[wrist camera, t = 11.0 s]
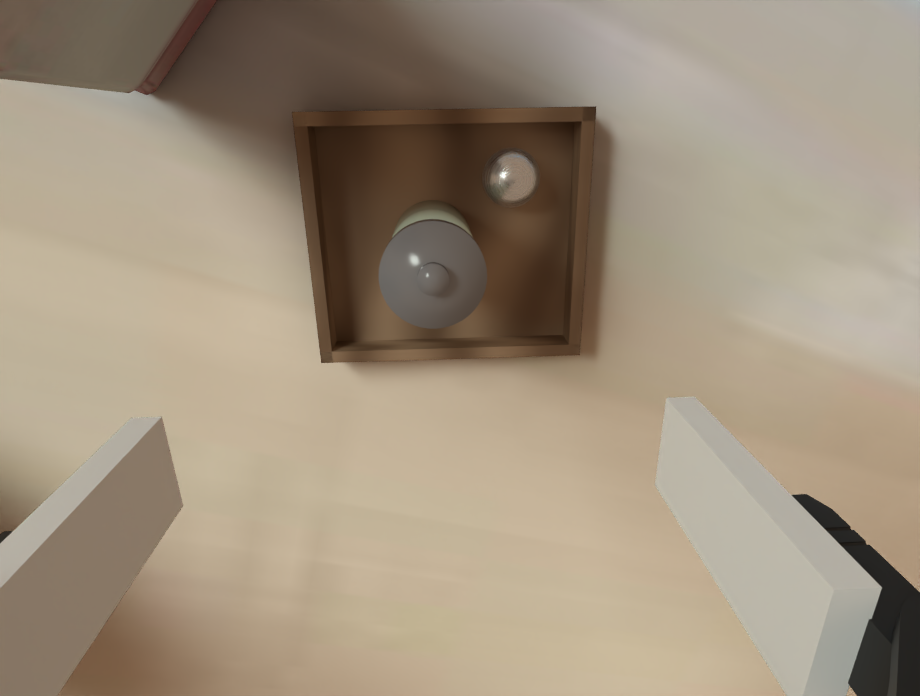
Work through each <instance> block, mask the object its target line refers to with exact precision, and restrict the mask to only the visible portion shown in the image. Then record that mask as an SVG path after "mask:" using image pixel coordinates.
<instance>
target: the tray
mask: <svg viewBox="0 0 920 696" xmlns="http://www.w3.org/2000/svg"><path fill="white" fill-rule="evenodd" d="M595 116H596V107H547V108H490V109H433V110H376V111H319V112H292V118H293V126H294V135H295V143H296V152H297V160H298V169H299V177H300V186H301V194H302V202H303V211H304V219H305V228H306V236H307V245H308V253H309V262H310V270H311V279H312V287H313V296H314V304H315V313H316V321H317V330H318V338H319V347H320V355H321V363H333V362H366V361H399V360H432V359H464V358H497V357H530V356H563V355H580V342H581V327H582V312H583V297H584V282H585V267H586V252H587V237H588V222H589V207H590V192H591V176H592V161H593V146H594V131H595ZM510 147H514V148H520V149H523V150H525V151H526V152H528V153H529V154H530V155H531V156H532V157H533V158H534V159H535V160H536V162H537V164H538V167H539V170H540V183H539V187H538V189H537V191H536V193H535V195H534V196H533V197H532V198H531V199H530V200H529V201H528V202H527V203H525V204H523V205H521V206H519V207H514V208H507V207H502V206H500V205H498V204H496V203H494V202H493V201H492V200H491V199H490V198H489V197H488V196H487V194H486V192H485V190H484V187H483V183H482V174H483V169H484V166H485V164H486V162H487V161H488V159H489V158H490V157H491V156H492V155H493V154H494V153H496V152H497V151H499V150H501V149H504V148H510ZM426 200H438V201H442V202H445V203H448V204H450V205H452V206H453V207H455V208H456V209H457V210H458V211H459V212H460V213H461V214H462V215H463V216H464V218H465V219H466V221H467V223H468V226H469V228H470V231H471V234H472V236H473V238H474V240H475V241H476V243H477V244H478V246H479V248H480V250H481V252H482V254H483V257H484V260H485V263H486V268H487V284H486V289H485V292H484V295H483V297H482V299H481V301H480V303H479V305H478V306H477V307H476V309H475V310H474V311H473V312H472V313H471V314H470V315H469V316H468V317H467V318H465V319H464V320H462V321H460V322H458V323H456V324H454V325H452V326H449V327H444V328H437V329H428V328H422V327H418V326H414V325H412V324H410V323H408V322H406V321H404V320H402V319H401V318H400V317H398V316H397V315H396V314H395V313H394V312H393V311H392V310H391V309H390V307H389V306H388V305H387V303H386V301H385V300H384V297H383V295H382V293H381V289H380V285H379V266H380V262H381V258H382V256H383V253H384V251H385V248H386V246H387V245H388V243H389V241H390V240H391V239H392V236H393V233H394V230H395V227H396V224H397V222H398V220H399V218H400V217H401V215H402V214H403V213H404V212H405V211H406V210H407V209H408V208H409V207H411V206H412V205H414V204H416V203H419V202H422V201H426Z"/></svg>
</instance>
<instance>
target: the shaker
mask: <svg viewBox="0 0 920 696" xmlns="http://www.w3.org/2000/svg"><path fill="white" fill-rule="evenodd" d="M486 284H487V268H486V263H485V260H484V257H483V254H482V252H481V250H480V248H479V246H478V244H477V243H476V241H475V240H474V238H473V236H472V234H471V231H470V228H469V226H468V223H467V221H466V219H465V218H464V216H463V215H462V214H461V213H460V212H459V211H458V210H457V209H456V208H455V207H453V206H452V205H450V204H448V203H445V202H442V201H438V200H426V201H422V202H419V203H416V204H414V205H412V206H411V207H409V208H408V209H407V210H406V211H405V212H404V213H403V214H402V215H401V217H400V218H399V220H398V222H397V224H396V227H395V230H394V233H393V236H392V239H391V240H390V241H389V243H388V245H387V246H386V248H385V251H384V253H383V256H382V258H381V262H380V266H379V285H380V289H381V293H382V295H383V297H384V300H385V301H386V303H387V305H388V306H389V307H390V309H391V310H392V311H393V312H394V313H395V314H396V315H397V316H398V317H400V318H401V319H402V320H404V321H406V322H408V323H410V324H412V325H414V326H418V327H422V328H428V329H437V328H444V327H449V326H452V325H454V324H456V323H458V322H460V321H462V320H464V319H465V318H467V317H468V316H469V315H470V314H471V313H472V312H473V311H474V310H475V309H476V307H477V306H478V305H479V303H480V301H481V299H482V297H483V295H484V292H485V289H486Z"/></svg>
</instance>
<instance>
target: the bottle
mask: <svg viewBox="0 0 920 696" xmlns="http://www.w3.org/2000/svg"><path fill="white" fill-rule="evenodd" d="M216 1H217V0H0V79H8V80H17V81H26V82H35V83H44V84H53V85H61V86H70V87H79V88H88V89H97V90H106V91H115V92H124V93H130V92H132V91H134V90H136V91H138V92H140V93H143V94H145V95H148V94H150V93H152V92H154V91H156V89H157V88H158V86H159V85H160V83H161V82H162V81H163V79H164V78H165V76H166V75H167V73H168V72H169V70H170V69H171V67H172V66H173V64H174V63H175V61H176V60H177V58H178V57H179V55H180V54H181V53H182V51H183V50H184V48H185V47H186V45H187V44H188V42H189V41H190V39H191V38H192V36H193V35H194V33H195V32H196V30H197V29H198V27H199V26H200V25H201V23H202V22H203V20H204V19H205V17H206V16H207V14H208V13H209V11H210V10H211V8H212V7H213V5H214V4H215V2H216Z"/></svg>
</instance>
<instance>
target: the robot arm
mask: <svg viewBox="0 0 920 696" xmlns="http://www.w3.org/2000/svg"><path fill="white" fill-rule="evenodd" d="M655 486H656V488H657V489H658V491H659V493H660V494H661V496H662V497H663V499H664V501H665V502H666V504H667V505H668V507H669V509H670V510H671V512H672V513H673V515H674V517H675V518H676V520H677V521H678V523H679V525H680V526H681V528H682V529H683V531H684V533H685V534H686V536H687V537H688V539H689V541H690V542H691V544H692V545H693V547H694V549H695V550H696V552H697V553H698V555H699V557H700V558H701V560H702V561H703V563H704V565H705V566H706V568H707V569H708V571H709V573H710V574H711V576H712V577H713V579H714V581H715V582H716V584H717V585H718V587H719V589H720V590H721V592H722V593H723V595H724V597H725V598H726V600H727V601H728V603H729V605H730V606H731V608H732V609H733V611H734V613H735V614H736V616H737V617H738V619H739V621H740V622H741V624H742V625H743V627H744V629H745V630H746V632H747V633H748V635H749V637H750V638H751V640H752V641H753V643H754V645H755V646H756V648H757V649H758V651H759V653H760V654H761V656H762V657H763V659H764V661H765V662H766V664H767V665H768V667H769V669H770V670H771V672H772V673H773V675H774V677H775V678H776V680H777V681H778V683H779V685H780V686H781V688H782V689H783V691H784V693H785V694H786V696H846V694H847V691H848V688H849V685H850V687H851V688H852V689H853V691H854V692H855V693H856V695H857V696H920V592H919V591H918V590H917V589H915V588H914V587H913V586H912V585H911V584H910V583H909V582H908V581H907V580H906V579H905V578H904V577H903V576H902V575H901V574H900V573H899V572H898V571H897V570H895V569H894V568H893V567H892V566H891V565H890V564H889V563H888V562H887V561H886V560H885V559H884V558H883V557H882V556H881V555H880V554H879V553H878V552H877V551H875V550H874V549H873V548H872V547H871V546H870V545H866V541H865V540H864V539H863V538H862V537H861V536H860V535H859V534H858V533H857V532H855V531H854V530H851V529H850V526H849V525H848V524H847V523H846V522H845V521H844V520H843V519H842V518H841V517H840V516H839V515H838V514H837V513H836V512H834V511H833V510H832V509H831V508H829V507H828V506H826V505H824V504H822V503H821V502H819V501H817V500H816V499H814V498H812V497H810V496H809V495H807V494H801V495H791V494H790V493H789V492H788V491H787V490H786V489H785V488H784V487H783V486H782V485H781V484H780V483H779V482H778V481H777V480H776V479H775V478H774V477H773V476H772V475H771V474H770V473H769V472H768V471H767V470H766V469H765V468H764V467H763V466H762V465H761V464H760V463H759V462H758V461H757V460H756V459H755V458H754V457H753V456H752V455H751V454H750V453H749V452H748V451H747V449H746V448H745V447H744V446H743V445H742V444H741V443H740V442H739V441H738V440H737V439H736V438H735V437H734V436H733V435H732V434H731V433H730V432H729V431H728V430H727V429H726V428H725V427H724V426H723V425H722V424H721V423H720V422H719V421H718V420H717V419H716V418H715V417H714V416H713V415H712V414H711V413H710V412H709V411H708V410H707V409H706V408H705V407H704V406H703V405H702V404H701V403H700V402H699V401H698V400H697V399H696V398H695V397H674V398H666V404H665V411H664V419H663V427H662V434H661V442H660V450H659V457H658V465H657V473H656V480H655ZM182 507H183V503H182V499H181V494H180V490H179V486H178V482H177V478H176V474H175V470H174V465H173V461H172V457H171V453H170V449H169V445H168V441H167V436H166V432H165V428H164V424H163V420H162V417H141V418H131V419H130V420H129V421H128V422H126V423H125V424H124V425H123V426H122V427H121V428H120V429H119V430H118V431H117V432H116V433H115V434H114V435H113V436H112V437H111V438H110V439H109V440H108V441H107V442H106V443H105V444H104V445H102V446H101V447H100V448H99V449H98V450H97V451H96V452H95V453H94V454H93V455H92V456H91V457H90V458H89V459H88V460H87V461H86V462H85V463H84V464H83V465H82V466H81V467H80V468H78V469H77V470H76V471H75V472H74V473H73V474H72V475H71V476H70V477H69V478H68V479H67V480H66V481H65V482H64V483H63V484H62V485H61V486H60V487H59V488H58V489H57V490H56V491H54V492H53V493H52V494H51V495H50V496H49V497H48V498H47V499H46V500H45V501H44V502H43V503H42V504H41V505H40V506H39V507H38V508H37V509H36V510H35V511H34V512H33V513H32V514H30V515H29V516H28V517H27V518H26V519H25V520H24V521H23V522H22V523H21V524H20V525H19V526H18V527H17V528H16V529H15V530H14V531H5V532H3V533H1V534H0V696H58V694H59V693H60V691H61V690H62V688H63V687H64V685H65V684H66V682H67V681H68V679H69V678H70V676H71V674H72V673H73V671H74V670H75V668H76V667H77V665H78V664H79V662H80V661H81V659H82V658H83V656H84V655H85V653H86V652H87V650H88V649H89V647H90V646H91V644H92V643H93V641H94V640H95V638H96V637H97V635H98V634H99V632H100V631H101V629H102V628H103V626H104V625H105V623H106V622H107V620H108V619H109V617H110V616H111V614H112V613H113V611H114V610H115V608H116V607H117V605H118V603H119V602H120V600H121V599H122V597H123V596H124V594H125V593H126V591H127V590H128V588H129V587H130V585H131V584H132V582H133V581H134V579H135V578H136V576H137V575H138V573H139V572H140V570H141V569H142V567H143V566H144V564H145V563H146V561H147V560H148V558H149V557H150V555H151V554H152V552H153V551H154V549H155V548H156V546H157V545H158V543H159V542H160V540H161V539H162V537H163V536H164V534H165V532H166V531H167V529H168V528H169V526H170V525H171V523H172V522H173V520H174V519H175V517H176V516H177V514H178V513H179V511H180V510H181V508H182Z"/></svg>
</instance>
